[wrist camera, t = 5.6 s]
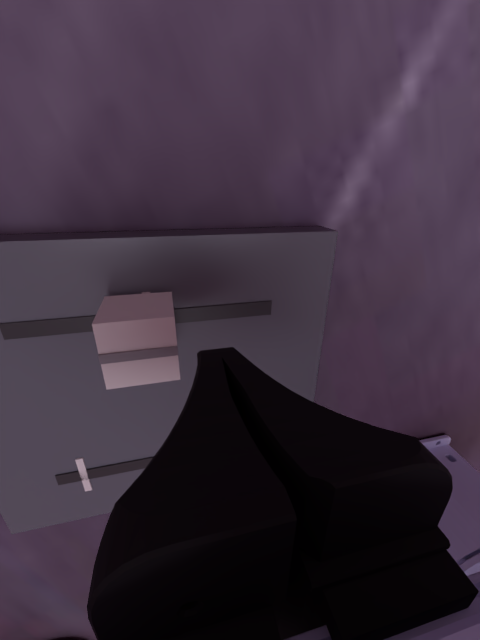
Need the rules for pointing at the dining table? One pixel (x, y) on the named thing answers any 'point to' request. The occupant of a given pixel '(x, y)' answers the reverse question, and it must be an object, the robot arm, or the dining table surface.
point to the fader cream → (137, 339)
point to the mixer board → (150, 399)
